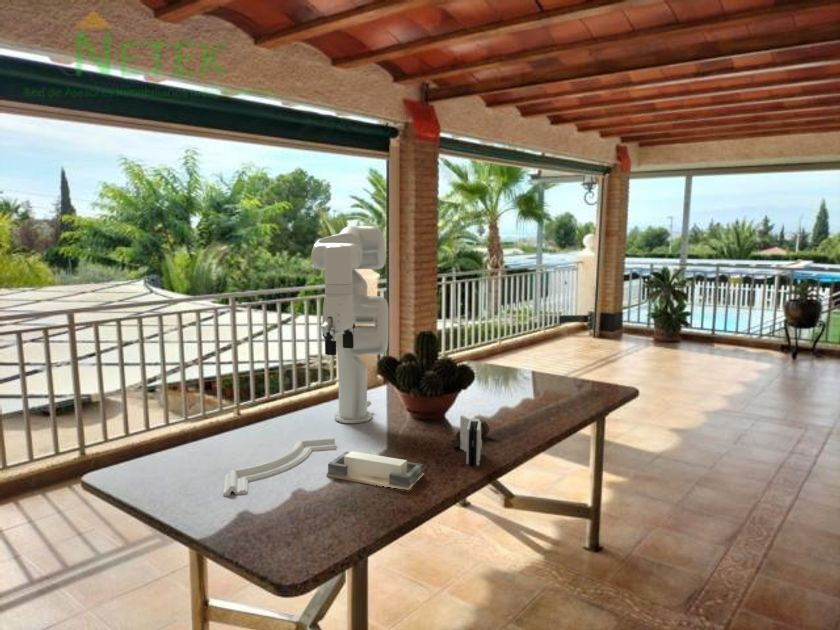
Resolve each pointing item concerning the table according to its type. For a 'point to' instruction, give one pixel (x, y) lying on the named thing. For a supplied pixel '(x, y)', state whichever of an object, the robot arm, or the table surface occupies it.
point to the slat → (374, 464)
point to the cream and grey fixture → (394, 481)
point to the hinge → (471, 438)
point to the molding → (274, 465)
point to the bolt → (484, 432)
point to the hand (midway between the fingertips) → (339, 351)
